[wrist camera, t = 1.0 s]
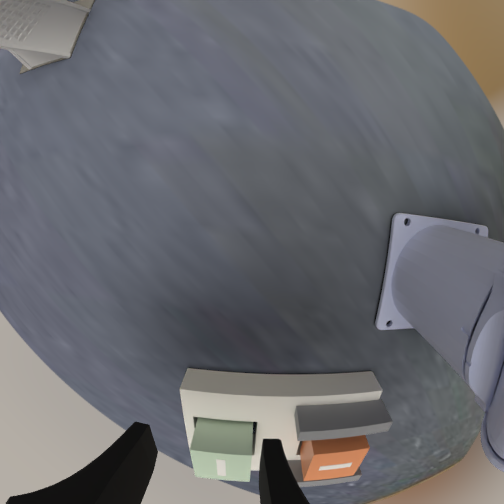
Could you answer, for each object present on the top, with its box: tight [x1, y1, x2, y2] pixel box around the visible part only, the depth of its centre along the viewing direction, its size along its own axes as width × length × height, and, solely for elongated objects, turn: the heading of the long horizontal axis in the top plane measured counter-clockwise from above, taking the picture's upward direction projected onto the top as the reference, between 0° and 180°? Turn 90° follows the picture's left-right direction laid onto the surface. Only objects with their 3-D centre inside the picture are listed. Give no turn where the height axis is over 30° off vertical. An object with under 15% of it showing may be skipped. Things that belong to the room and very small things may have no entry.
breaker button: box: [300, 435, 370, 481], centre depth 16 cm, size 4×4×3 cm
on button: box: [190, 417, 253, 482], centre depth 16 cm, size 4×4×3 cm
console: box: [180, 368, 393, 487], centre depth 17 cm, size 14×10×5 cm
